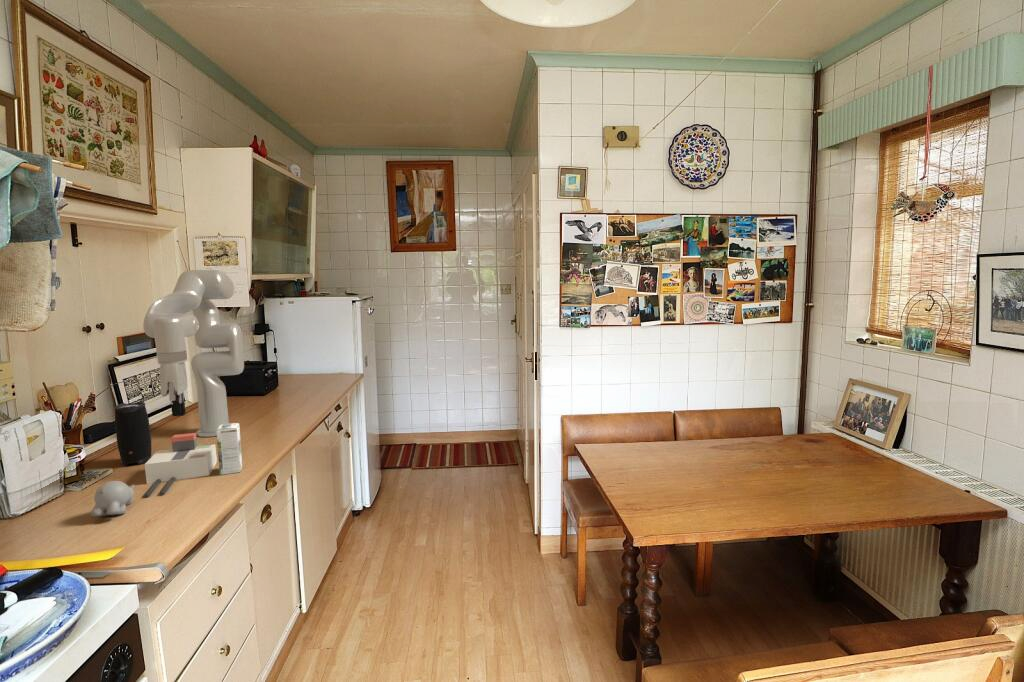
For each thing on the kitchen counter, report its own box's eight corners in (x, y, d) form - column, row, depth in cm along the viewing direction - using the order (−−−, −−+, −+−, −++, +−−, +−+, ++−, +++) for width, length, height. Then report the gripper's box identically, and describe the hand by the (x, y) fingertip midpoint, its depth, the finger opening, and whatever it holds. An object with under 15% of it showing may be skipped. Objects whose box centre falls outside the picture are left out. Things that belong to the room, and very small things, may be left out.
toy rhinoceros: (144, 512, 135) (149, 479, 137) (115, 516, 124) (120, 480, 126) (116, 513, 134) (121, 480, 136) (83, 517, 123) (89, 481, 125)
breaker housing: (159, 469, 158) (157, 450, 157) (217, 461, 164) (215, 444, 163) (146, 483, 147) (144, 464, 146) (208, 475, 152) (207, 456, 152)
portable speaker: (140, 467, 160) (133, 407, 157) (112, 466, 160) (104, 407, 158) (160, 457, 169) (153, 400, 166) (133, 457, 169) (126, 400, 166)
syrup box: (222, 469, 158) (217, 424, 156) (243, 465, 160) (239, 422, 158) (219, 475, 152) (215, 429, 150) (241, 472, 155) (237, 427, 153)
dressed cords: (157, 482, 148) (156, 478, 148) (176, 480, 149) (175, 476, 149) (144, 498, 138) (143, 494, 137) (164, 495, 139) (164, 491, 139)
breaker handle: (175, 448, 159) (174, 434, 158) (197, 445, 161) (195, 432, 160) (172, 451, 156) (171, 437, 155) (194, 448, 158) (193, 435, 157)
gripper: (165, 353, 157) (172, 409, 160) (149, 362, 143) (157, 424, 146) (192, 352, 160) (198, 407, 163) (180, 360, 146) (187, 421, 149)
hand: (179, 415), depth 154 cm, fingers closed
